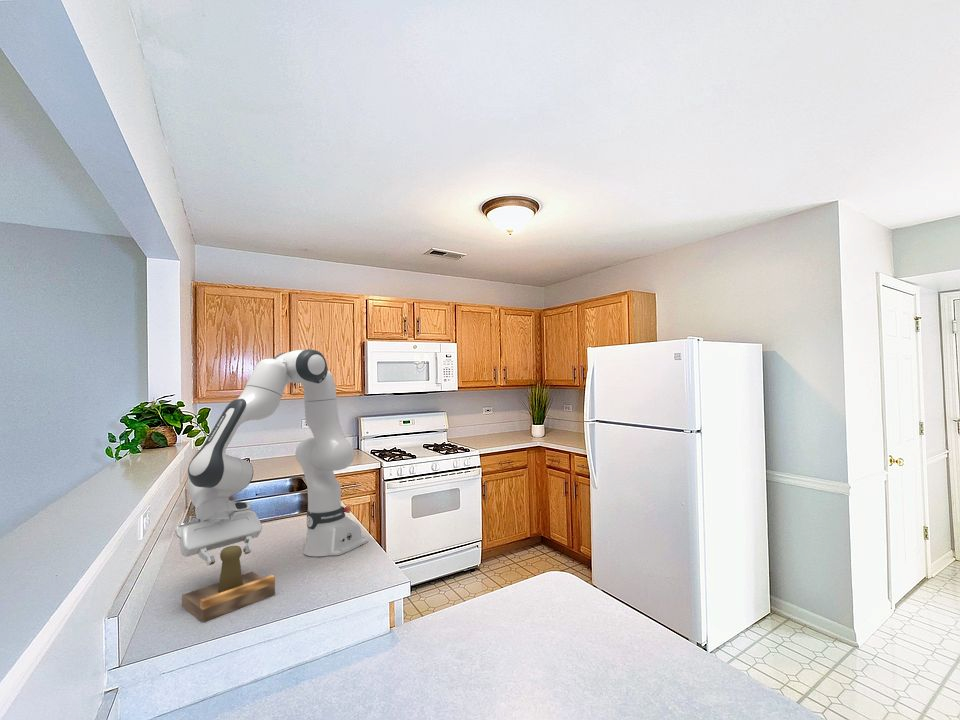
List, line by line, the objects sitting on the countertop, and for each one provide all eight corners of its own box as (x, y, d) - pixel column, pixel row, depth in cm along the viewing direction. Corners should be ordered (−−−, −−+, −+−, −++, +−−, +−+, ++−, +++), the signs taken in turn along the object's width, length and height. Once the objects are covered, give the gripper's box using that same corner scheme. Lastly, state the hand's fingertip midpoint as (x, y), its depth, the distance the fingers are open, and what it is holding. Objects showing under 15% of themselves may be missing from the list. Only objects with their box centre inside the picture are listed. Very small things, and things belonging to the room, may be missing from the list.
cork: (232, 594, 118) (232, 551, 118) (212, 592, 119) (212, 550, 120) (248, 584, 124) (248, 543, 124) (229, 583, 125) (229, 542, 126)
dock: (251, 582, 132) (251, 564, 133) (274, 594, 124) (274, 576, 124) (181, 606, 118) (182, 586, 119) (202, 622, 109) (202, 601, 110)
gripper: (176, 518, 119) (190, 564, 112) (255, 501, 135) (271, 540, 128) (170, 532, 121) (183, 578, 115) (248, 514, 137) (263, 553, 131)
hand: (230, 558), depth 121 cm, fingers open, 8 cm apart
